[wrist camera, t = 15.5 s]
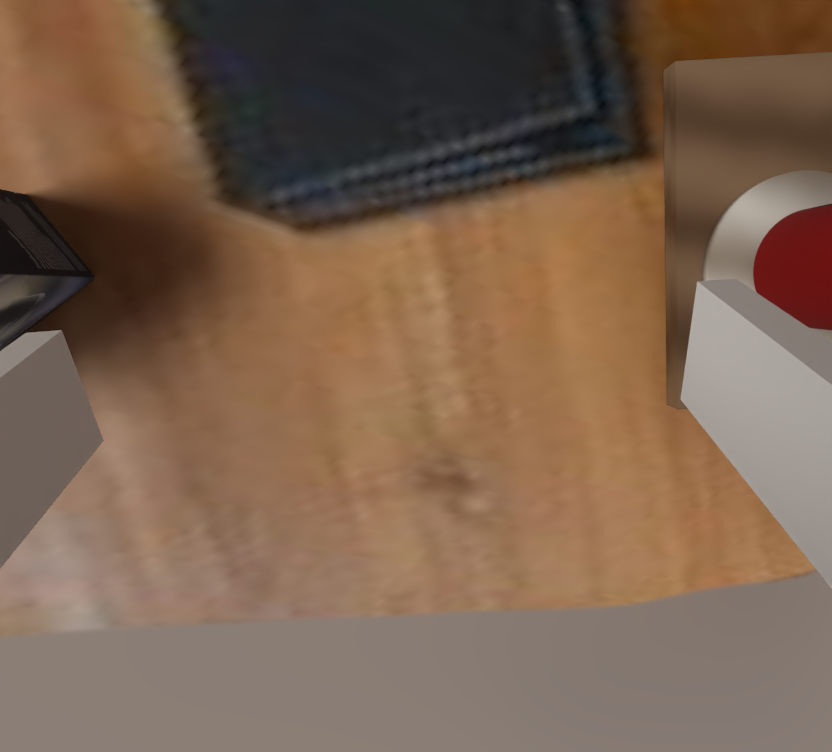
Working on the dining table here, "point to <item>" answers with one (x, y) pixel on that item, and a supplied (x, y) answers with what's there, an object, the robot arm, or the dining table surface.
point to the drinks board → (737, 171)
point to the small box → (32, 267)
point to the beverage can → (798, 266)
